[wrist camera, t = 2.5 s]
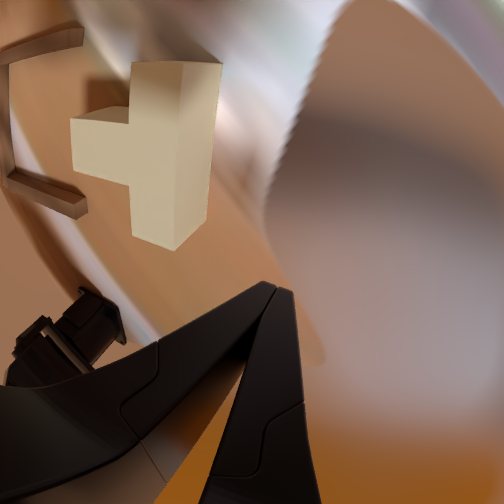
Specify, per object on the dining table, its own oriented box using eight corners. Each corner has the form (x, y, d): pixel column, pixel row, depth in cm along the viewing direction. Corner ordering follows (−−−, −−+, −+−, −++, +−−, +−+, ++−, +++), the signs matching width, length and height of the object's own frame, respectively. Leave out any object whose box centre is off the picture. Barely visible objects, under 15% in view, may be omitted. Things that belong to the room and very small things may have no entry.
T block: (206, 220, 20) (173, 251, 17) (115, 191, 22) (79, 214, 18) (223, 63, 14) (183, 63, 11) (116, 61, 16) (70, 66, 13)
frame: (87, 212, 24) (76, 219, 23) (12, 181, 27) (3, 186, 26) (84, 27, 15) (68, 28, 14) (4, 53, 18) (-7, 55, 17)
